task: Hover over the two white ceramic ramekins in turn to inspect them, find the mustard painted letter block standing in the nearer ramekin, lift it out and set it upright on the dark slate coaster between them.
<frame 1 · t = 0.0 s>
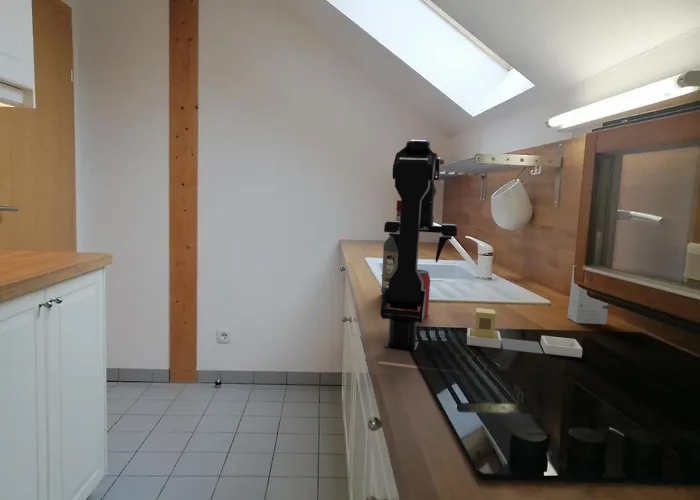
hand: (418, 260, 128), 15 cm above the worktop, fingers open, 9 cm apart
beer can: (415, 315, 130), on the worktop
ramekin B: (560, 351, 104), on the worktop
letter block: (483, 341, 107), resting on ramekin A
liquor: (397, 296, 153), on the worktop
ramekin A: (483, 343, 107), on the worktop
slate coaster: (520, 347, 105), on the worktop
skincare box: (586, 322, 131), on the worktop
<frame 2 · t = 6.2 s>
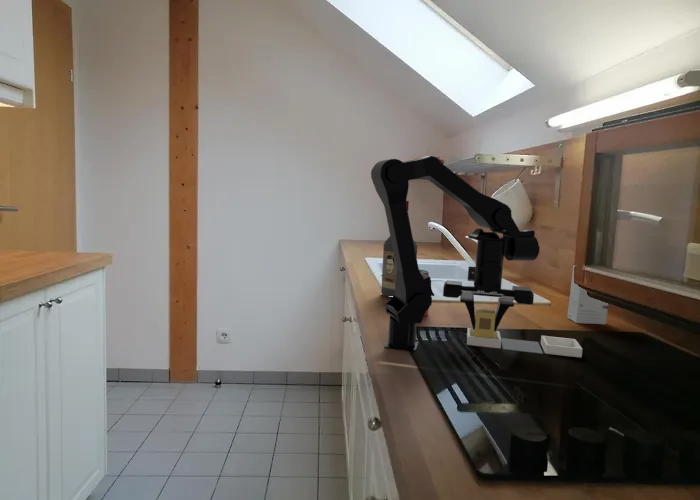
hand: (484, 330, 107), 3 cm above the worktop, fingers closed on letter block, 4 cm apart
letter block: (483, 341, 107), resting on ramekin A, touching gripper
everything else where it was.
when the fingers open (4 cm above the worktop, at t = 10.3 s): letter block drops 1 cm, resting on slate coaster.
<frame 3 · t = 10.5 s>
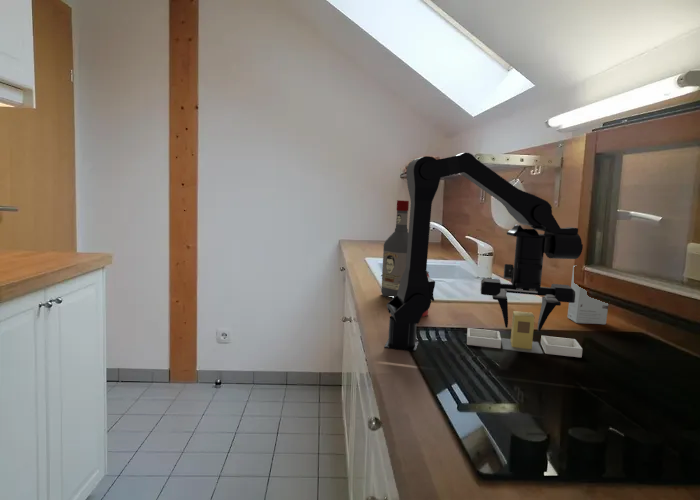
hand: (522, 328, 105), 4 cm above the worktop, fingers open, 6 cm apart
letter block: (520, 345, 105), resting on slate coaster
everything else where it was.
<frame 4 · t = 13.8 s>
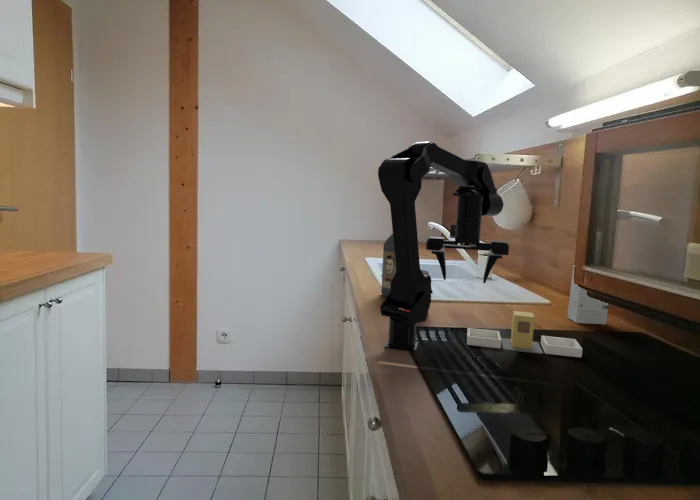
hand: (464, 281, 116), 12 cm above the worktop, fingers open, 9 cm apart
nothing on the worktop moved.
at the end: letter block inside the target area on the slate coaster (0.0 cm from its centre), point 0.5 cm above the slate coaster's base; letter block tilted 0°; the gripper is holding nothing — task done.
